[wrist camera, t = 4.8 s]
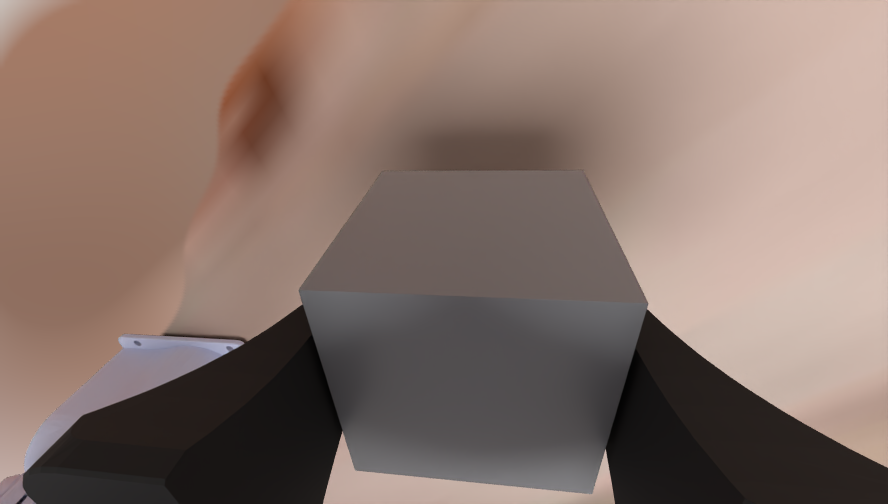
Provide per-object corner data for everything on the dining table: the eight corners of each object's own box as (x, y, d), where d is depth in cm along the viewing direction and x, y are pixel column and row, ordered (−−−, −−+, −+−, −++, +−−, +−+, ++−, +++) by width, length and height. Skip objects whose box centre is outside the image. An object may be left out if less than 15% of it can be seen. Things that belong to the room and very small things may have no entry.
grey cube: (402, 316, 15) (355, 470, 10) (382, 170, 12) (298, 290, 7) (560, 324, 15) (591, 494, 10) (583, 170, 11) (648, 303, 6)
